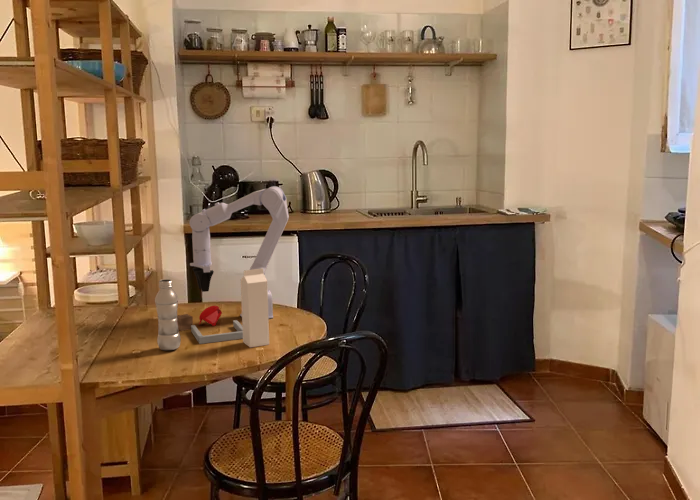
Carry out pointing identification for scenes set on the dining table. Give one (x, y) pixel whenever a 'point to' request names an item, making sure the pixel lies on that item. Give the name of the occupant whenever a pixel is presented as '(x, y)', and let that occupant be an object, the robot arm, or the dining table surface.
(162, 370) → the dining table surface
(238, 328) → the tray frame
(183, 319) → the walnut block
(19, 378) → the dining table surface
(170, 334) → the plastic bottle
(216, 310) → the cap
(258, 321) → the milk
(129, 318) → the dining table surface
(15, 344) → the dining table surface
